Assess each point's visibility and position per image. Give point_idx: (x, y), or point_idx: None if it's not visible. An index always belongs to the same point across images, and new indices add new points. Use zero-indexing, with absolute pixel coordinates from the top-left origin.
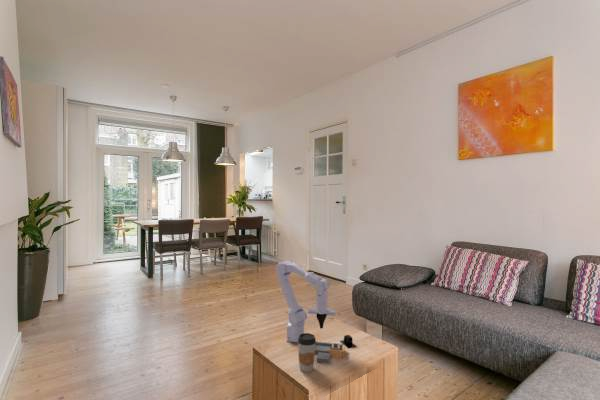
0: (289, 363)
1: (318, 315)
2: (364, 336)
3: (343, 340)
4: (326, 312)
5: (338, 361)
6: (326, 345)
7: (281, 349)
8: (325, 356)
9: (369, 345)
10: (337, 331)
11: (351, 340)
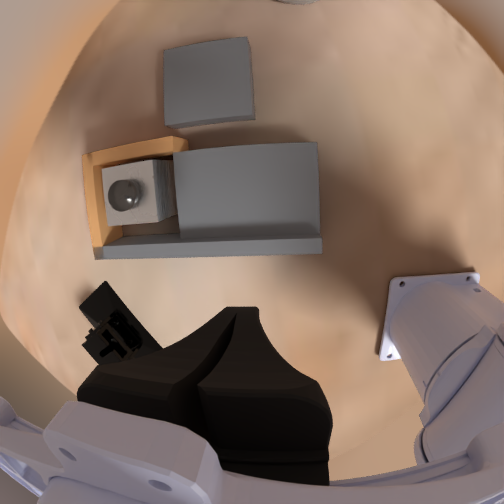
0: (401, 15)
1: (275, 443)
2: None
3: None
4: (22, 453)
5: (126, 104)
6: (213, 237)
7: (487, 167)
8: (192, 74)
9: (48, 326)
10: None
11: (90, 332)
